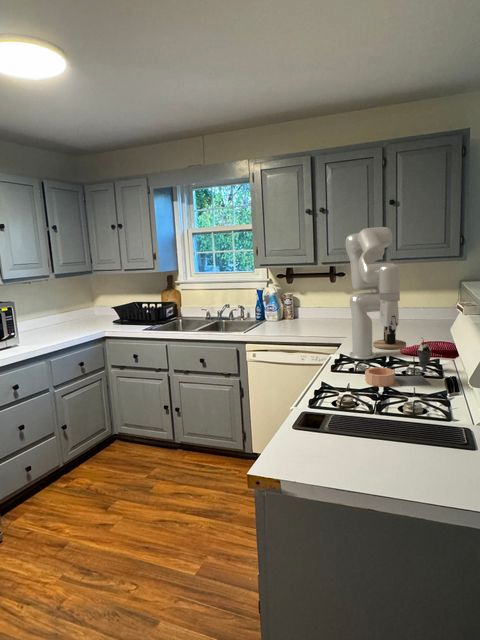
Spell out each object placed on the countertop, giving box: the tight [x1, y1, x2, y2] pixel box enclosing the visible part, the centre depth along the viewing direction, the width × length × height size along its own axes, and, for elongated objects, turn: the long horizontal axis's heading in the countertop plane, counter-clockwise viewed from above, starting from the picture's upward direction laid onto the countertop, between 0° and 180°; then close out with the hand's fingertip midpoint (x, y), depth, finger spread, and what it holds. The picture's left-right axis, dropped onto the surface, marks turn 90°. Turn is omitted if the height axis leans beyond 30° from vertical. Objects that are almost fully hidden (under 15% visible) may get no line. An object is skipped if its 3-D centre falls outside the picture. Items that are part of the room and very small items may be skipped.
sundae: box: [415, 337, 434, 373], centre depth 189 cm, size 7×7×15 cm
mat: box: [395, 375, 433, 387], centre depth 179 cm, size 12×12×1 cm
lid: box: [372, 330, 407, 351], centre depth 176 cm, size 12×12×6 cm
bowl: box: [364, 366, 396, 388], centre depth 180 cm, size 11×11×5 cm
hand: (389, 341), depth 177 cm, fingers closed on lid, 3 cm apart
